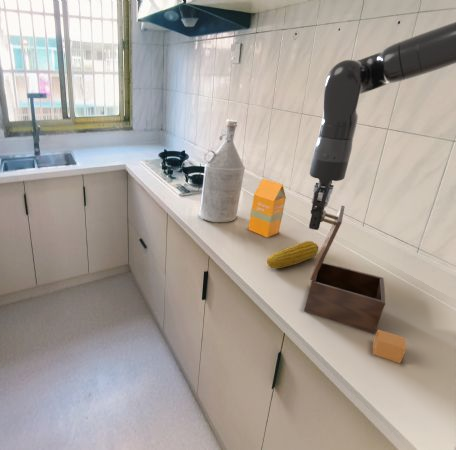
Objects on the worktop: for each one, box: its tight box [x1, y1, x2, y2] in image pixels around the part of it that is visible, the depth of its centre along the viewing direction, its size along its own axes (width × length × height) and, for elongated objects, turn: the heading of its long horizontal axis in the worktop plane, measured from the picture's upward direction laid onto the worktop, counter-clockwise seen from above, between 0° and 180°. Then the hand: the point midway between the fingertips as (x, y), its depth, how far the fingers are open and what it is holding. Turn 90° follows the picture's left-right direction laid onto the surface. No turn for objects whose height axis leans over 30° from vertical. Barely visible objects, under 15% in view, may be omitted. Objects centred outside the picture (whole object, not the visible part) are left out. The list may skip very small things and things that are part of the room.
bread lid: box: [310, 204, 345, 281], centre depth 85 cm, size 16×13×5 cm
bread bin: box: [303, 261, 386, 334], centre depth 86 cm, size 16×13×9 cm
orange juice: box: [248, 178, 287, 238], centre depth 127 cm, size 8×9×20 cm
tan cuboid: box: [372, 329, 407, 364], centre depth 73 cm, size 5×4×4 cm
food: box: [266, 240, 319, 269], centre depth 108 cm, size 21×6×6 cm, turn 121°
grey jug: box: [198, 118, 246, 223], centre depth 135 cm, size 13×17×40 cm
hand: (315, 224), depth 84 cm, fingers closed on bread lid, 5 cm apart
